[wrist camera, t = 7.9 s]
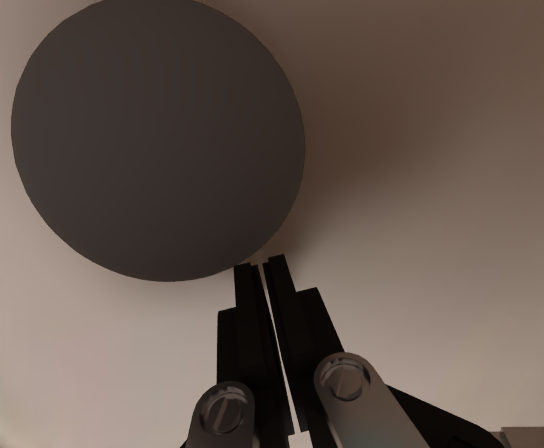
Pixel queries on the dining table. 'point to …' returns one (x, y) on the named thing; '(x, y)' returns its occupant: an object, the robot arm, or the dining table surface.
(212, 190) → the gray ball
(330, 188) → the dining table surface
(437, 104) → the dining table surface
